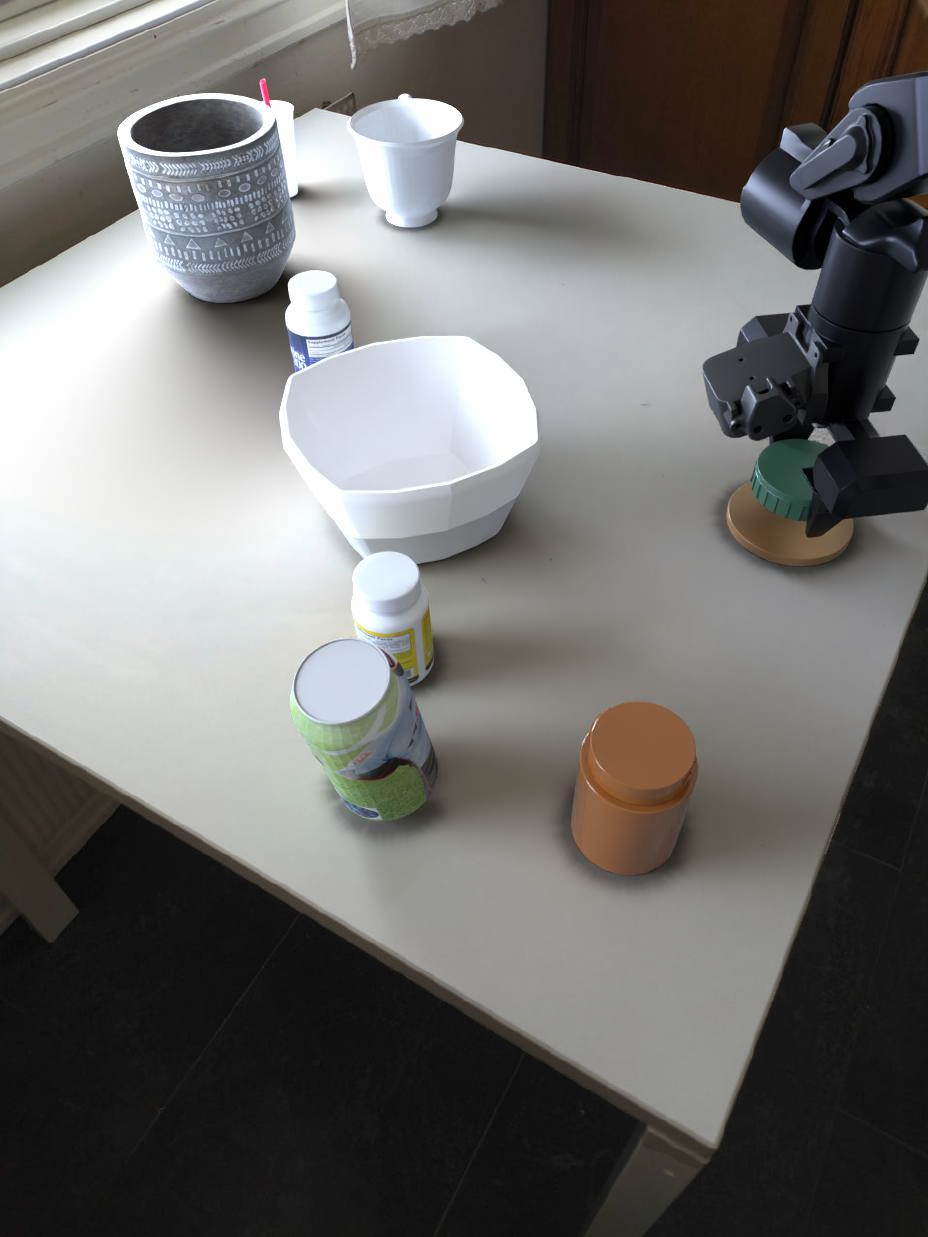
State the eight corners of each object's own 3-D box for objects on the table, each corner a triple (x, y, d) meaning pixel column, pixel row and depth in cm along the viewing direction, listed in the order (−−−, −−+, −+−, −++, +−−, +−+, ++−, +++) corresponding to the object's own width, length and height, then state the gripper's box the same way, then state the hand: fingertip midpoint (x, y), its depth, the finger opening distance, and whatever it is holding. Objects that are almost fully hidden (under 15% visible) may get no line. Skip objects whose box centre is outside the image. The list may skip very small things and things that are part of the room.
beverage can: (460, 777, 54) (453, 651, 44) (373, 866, 50) (347, 749, 41) (384, 720, 56) (363, 591, 47) (297, 801, 53) (256, 678, 44)
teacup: (461, 178, 106) (459, 85, 99) (468, 239, 97) (467, 140, 89) (359, 183, 106) (349, 90, 99) (356, 244, 96) (344, 146, 89)
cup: (267, 206, 103) (246, 91, 94) (254, 187, 106) (232, 74, 97) (312, 196, 104) (295, 82, 95) (298, 178, 107) (280, 66, 98)
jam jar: (688, 799, 52) (716, 715, 46) (662, 891, 49) (688, 814, 42) (588, 766, 54) (602, 680, 47) (556, 853, 50) (566, 772, 44)
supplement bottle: (401, 623, 62) (390, 534, 55) (449, 661, 59) (444, 573, 53) (347, 662, 59) (329, 575, 53) (394, 704, 57) (382, 617, 51)
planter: (223, 332, 86) (182, 171, 74) (134, 283, 92) (84, 128, 81) (331, 272, 93) (309, 116, 81) (241, 231, 99) (209, 81, 88)
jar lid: (741, 508, 63) (747, 487, 62) (759, 451, 67) (765, 429, 66) (841, 532, 62) (850, 510, 60) (853, 472, 66) (862, 450, 64)
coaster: (857, 499, 69) (861, 491, 68) (842, 580, 63) (845, 572, 63) (738, 472, 71) (741, 464, 70) (714, 547, 66) (716, 539, 65)
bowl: (483, 416, 76) (482, 315, 69) (571, 555, 65) (580, 452, 58) (277, 467, 73) (254, 366, 65) (334, 623, 62) (313, 522, 55)
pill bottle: (294, 372, 81) (275, 270, 74) (353, 363, 82) (339, 261, 75) (302, 407, 78) (283, 304, 70) (364, 397, 79) (350, 293, 71)
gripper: (684, 243, 59) (652, 434, 71) (788, 414, 47) (728, 611, 59) (847, 228, 60) (788, 420, 72) (991, 393, 48) (891, 592, 60)
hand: (794, 502), depth 65 cm, fingers closed on jar lid, 6 cm apart
